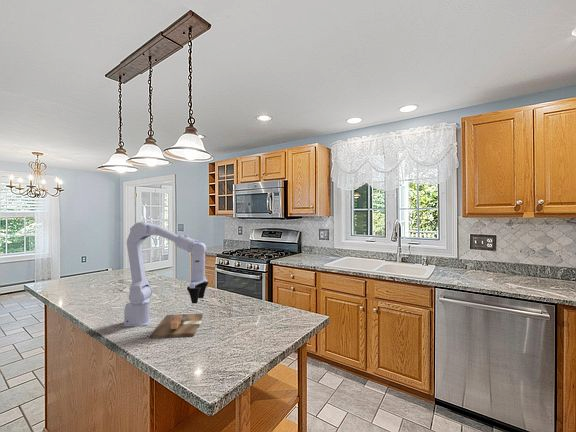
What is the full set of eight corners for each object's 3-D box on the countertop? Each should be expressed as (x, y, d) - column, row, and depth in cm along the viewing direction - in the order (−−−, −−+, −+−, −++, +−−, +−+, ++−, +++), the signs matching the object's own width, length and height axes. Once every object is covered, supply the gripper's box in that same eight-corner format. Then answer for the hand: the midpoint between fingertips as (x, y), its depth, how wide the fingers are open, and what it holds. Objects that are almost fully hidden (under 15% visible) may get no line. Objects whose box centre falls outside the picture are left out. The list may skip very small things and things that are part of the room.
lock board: (150, 338, 108) (150, 332, 108) (166, 317, 129) (166, 313, 129) (196, 335, 110) (196, 330, 110) (204, 316, 132) (204, 311, 132)
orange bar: (174, 318, 122) (174, 313, 122) (186, 318, 123) (186, 312, 123) (166, 329, 110) (167, 323, 110) (180, 328, 111) (180, 322, 111)
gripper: (201, 273, 117) (200, 306, 117) (212, 267, 132) (211, 296, 132) (184, 272, 118) (184, 305, 118) (197, 266, 132) (197, 295, 132)
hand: (197, 300), depth 125 cm, fingers open, 7 cm apart
